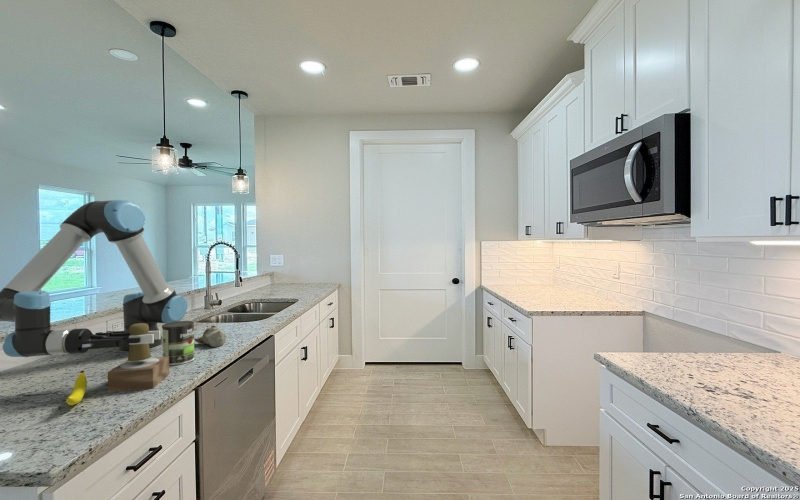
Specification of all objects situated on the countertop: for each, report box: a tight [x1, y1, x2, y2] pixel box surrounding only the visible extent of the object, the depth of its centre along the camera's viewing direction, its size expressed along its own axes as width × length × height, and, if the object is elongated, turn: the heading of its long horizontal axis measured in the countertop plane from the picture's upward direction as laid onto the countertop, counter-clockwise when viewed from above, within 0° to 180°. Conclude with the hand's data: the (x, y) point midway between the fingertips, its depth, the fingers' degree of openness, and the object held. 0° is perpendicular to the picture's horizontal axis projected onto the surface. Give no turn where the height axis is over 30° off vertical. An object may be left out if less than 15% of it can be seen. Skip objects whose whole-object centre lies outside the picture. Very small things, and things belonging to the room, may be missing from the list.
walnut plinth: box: [107, 356, 171, 393], centre depth 115 cm, size 12×12×6 cm
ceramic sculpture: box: [194, 324, 227, 348], centre depth 156 cm, size 11×9×15 cm
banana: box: [65, 370, 88, 406], centre depth 100 cm, size 3×19×6 cm, turn 34°
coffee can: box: [161, 320, 196, 366], centre depth 135 cm, size 10×10×14 cm
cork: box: [127, 323, 152, 361], centre depth 114 cm, size 6×6×11 cm
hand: (156, 336), depth 115 cm, fingers closed on cork, 4 cm apart
